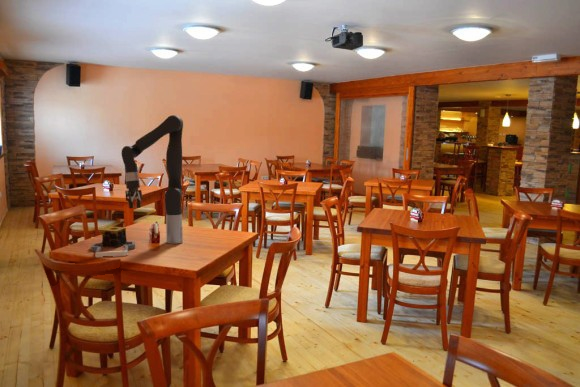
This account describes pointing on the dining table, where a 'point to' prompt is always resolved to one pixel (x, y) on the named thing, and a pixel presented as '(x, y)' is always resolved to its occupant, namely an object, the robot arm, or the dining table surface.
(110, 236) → the candle
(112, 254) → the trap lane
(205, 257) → the dining table surface
